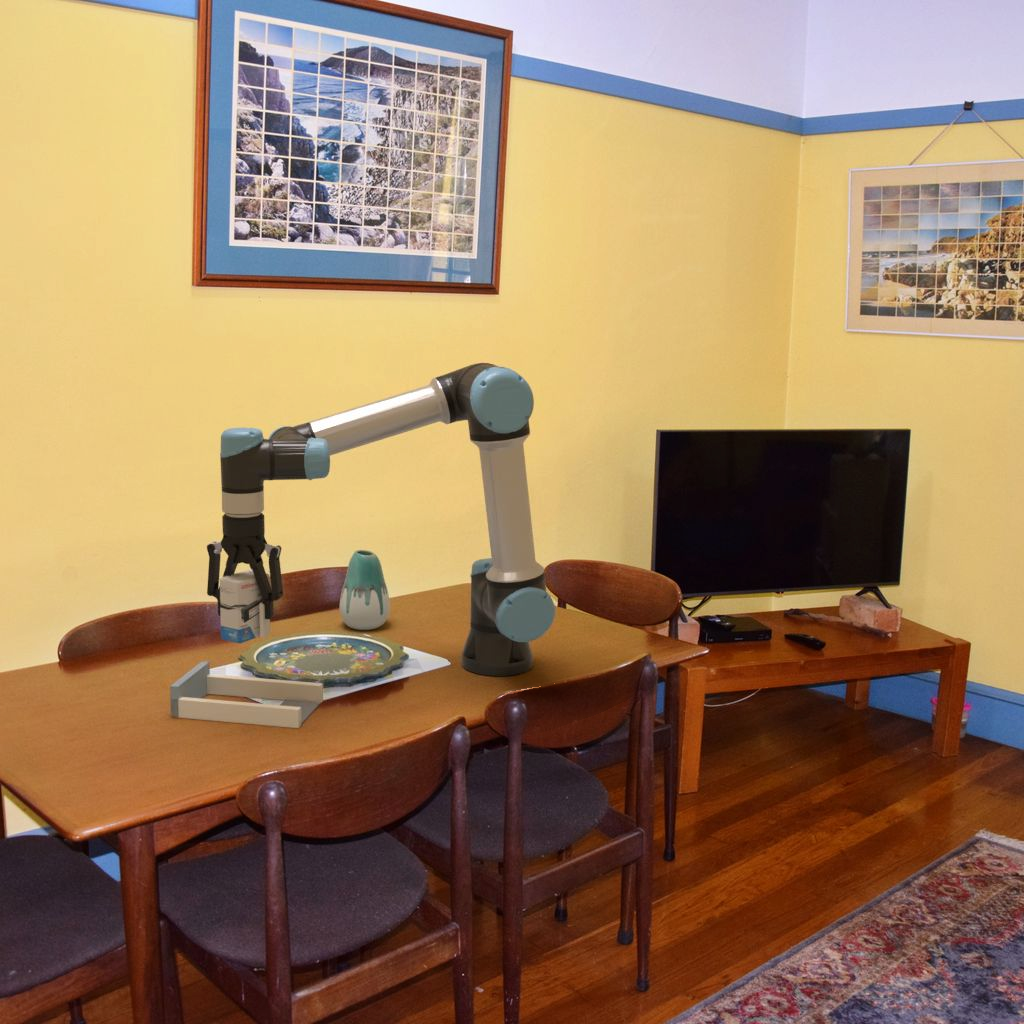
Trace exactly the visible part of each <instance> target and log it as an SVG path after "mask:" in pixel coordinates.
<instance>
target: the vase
mask: <svg viewBox="0 0 1024 1024" xmlns="http://www.w3.org/2000/svg"><path fill="white" fill-rule="evenodd" d="M339 599H340V600H339V605H338V606H339V607H338V608H339V613H340V617H341V619H342V621H343V623H344V624H345V625H346V626H348V627H349V628H350V629H354V630H358V631H371V630H375V629H377V628H380V627H383V625H384V624H385V623H386V621H387V620H388V617H389V615H390V611H391V603H390V596H389V591H388V587H387V583H386V580H385V576H384V571H383V568H382V563H381V561H380V559H379V557H378V555H377V554H376V553H374V552H373V551H372V550H367V549H366V550H365V549H357V550H355V551H354V552H353V554H352V556H351V558H350V559H349V562H348V566H347V570H346V575H345V579H344V583H343V586H342V589H341V593H340V598H339Z"/></svg>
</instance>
